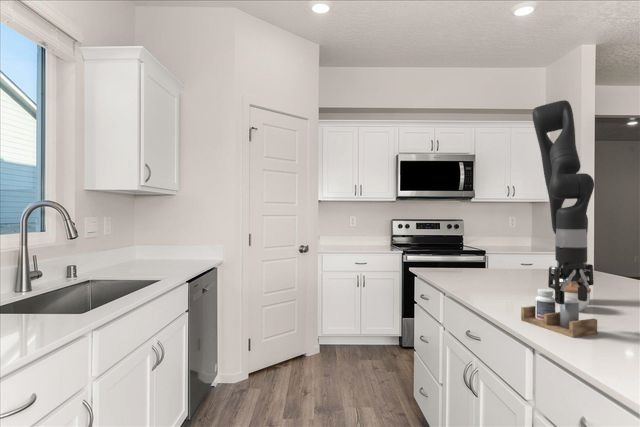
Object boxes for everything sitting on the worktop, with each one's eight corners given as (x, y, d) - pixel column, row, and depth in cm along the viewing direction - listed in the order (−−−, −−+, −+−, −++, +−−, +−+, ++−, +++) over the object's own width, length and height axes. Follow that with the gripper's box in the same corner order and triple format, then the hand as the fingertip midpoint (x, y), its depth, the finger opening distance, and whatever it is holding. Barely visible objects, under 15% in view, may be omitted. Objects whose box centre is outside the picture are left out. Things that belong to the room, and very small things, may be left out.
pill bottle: (558, 322, 113) (558, 292, 112) (539, 321, 114) (539, 291, 113) (551, 317, 118) (551, 288, 118) (532, 316, 119) (532, 288, 119)
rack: (543, 317, 121) (543, 304, 121) (597, 333, 105) (597, 319, 105) (521, 320, 118) (521, 307, 118) (572, 337, 102) (572, 322, 102)
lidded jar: (584, 306, 134) (584, 280, 134) (595, 314, 124) (595, 285, 124) (549, 304, 138) (549, 278, 138) (557, 312, 128) (557, 283, 127)
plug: (582, 328, 107) (582, 300, 106) (570, 330, 105) (570, 301, 105) (567, 324, 111) (568, 296, 111) (556, 325, 109) (556, 297, 109)
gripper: (576, 242, 113) (577, 297, 114) (540, 244, 109) (540, 301, 109) (602, 244, 106) (602, 303, 107) (564, 247, 102) (564, 308, 102)
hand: (571, 302), depth 108 cm, fingers open, 8 cm apart
